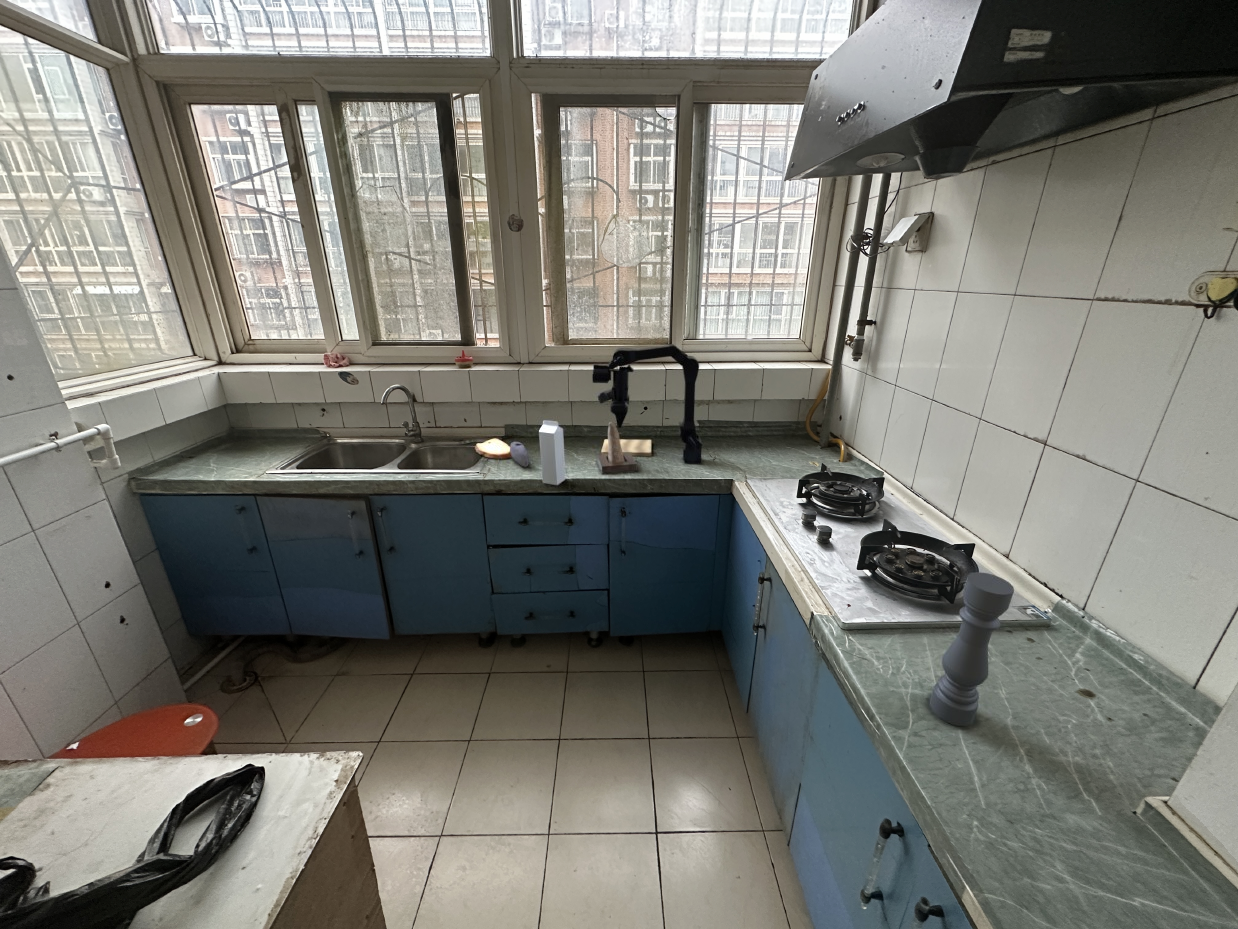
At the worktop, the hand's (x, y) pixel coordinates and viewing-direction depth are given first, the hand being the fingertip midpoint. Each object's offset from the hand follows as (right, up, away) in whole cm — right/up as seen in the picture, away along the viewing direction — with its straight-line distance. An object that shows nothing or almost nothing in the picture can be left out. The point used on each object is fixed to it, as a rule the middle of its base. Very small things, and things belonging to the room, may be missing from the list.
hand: (620, 424), depth 189 cm
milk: (-23, -21, -14) cm, 34 cm away
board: (+3, -9, +17) cm, 20 cm away
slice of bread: (-51, -10, +16) cm, 55 cm away
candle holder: (+55, -56, -106) cm, 132 cm away
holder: (-1, -16, -1) cm, 16 cm away
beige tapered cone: (-1, -16, -1) cm, 16 cm away
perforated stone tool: (-38, -15, +3) cm, 41 cm away
